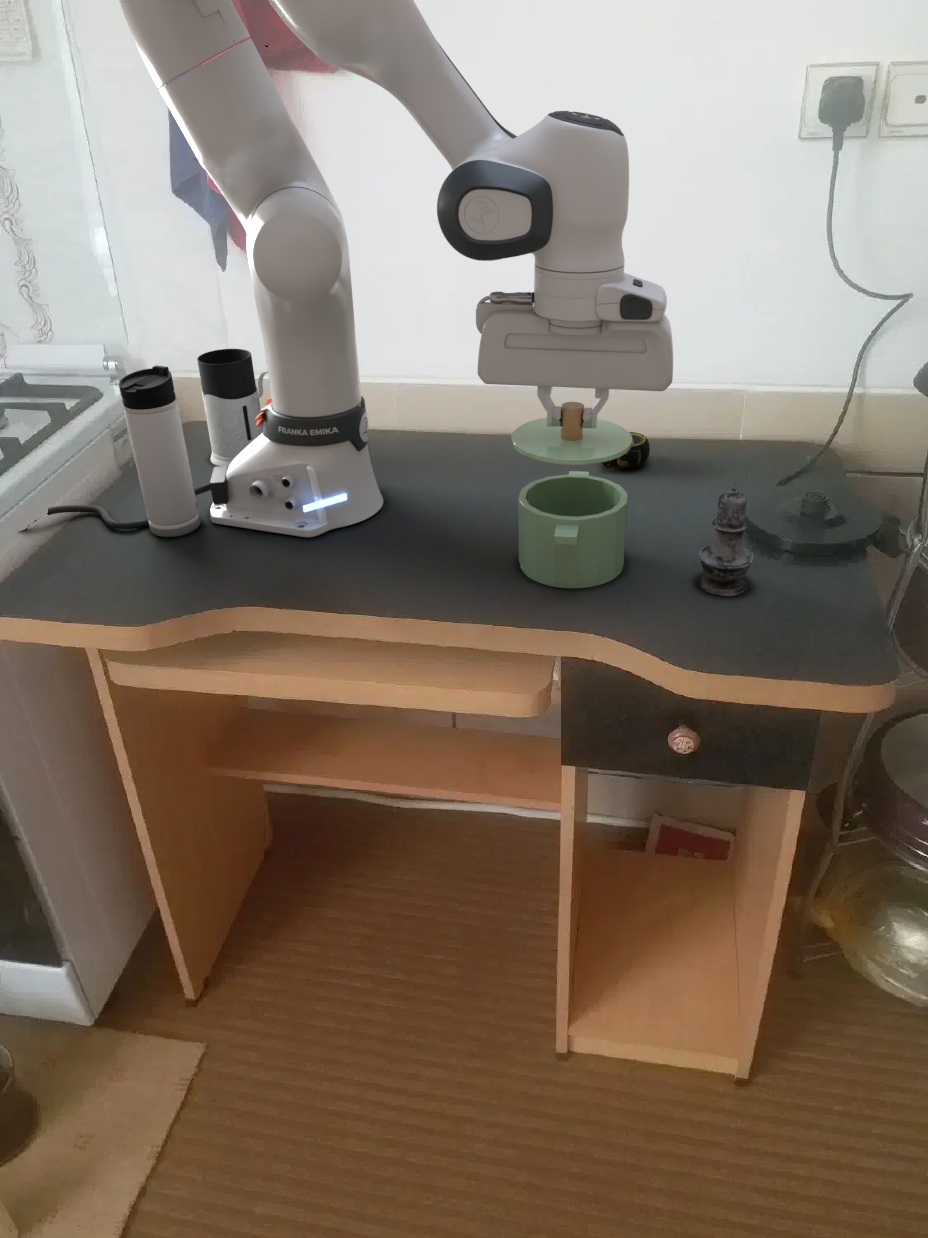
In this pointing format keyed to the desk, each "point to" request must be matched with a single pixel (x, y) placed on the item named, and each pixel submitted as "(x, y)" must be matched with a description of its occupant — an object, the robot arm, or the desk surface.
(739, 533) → the salt shaker
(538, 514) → the pot
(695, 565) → the desk surface
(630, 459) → the tape measure
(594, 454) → the pot lid
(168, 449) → the travel mug
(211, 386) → the tall handled mug
